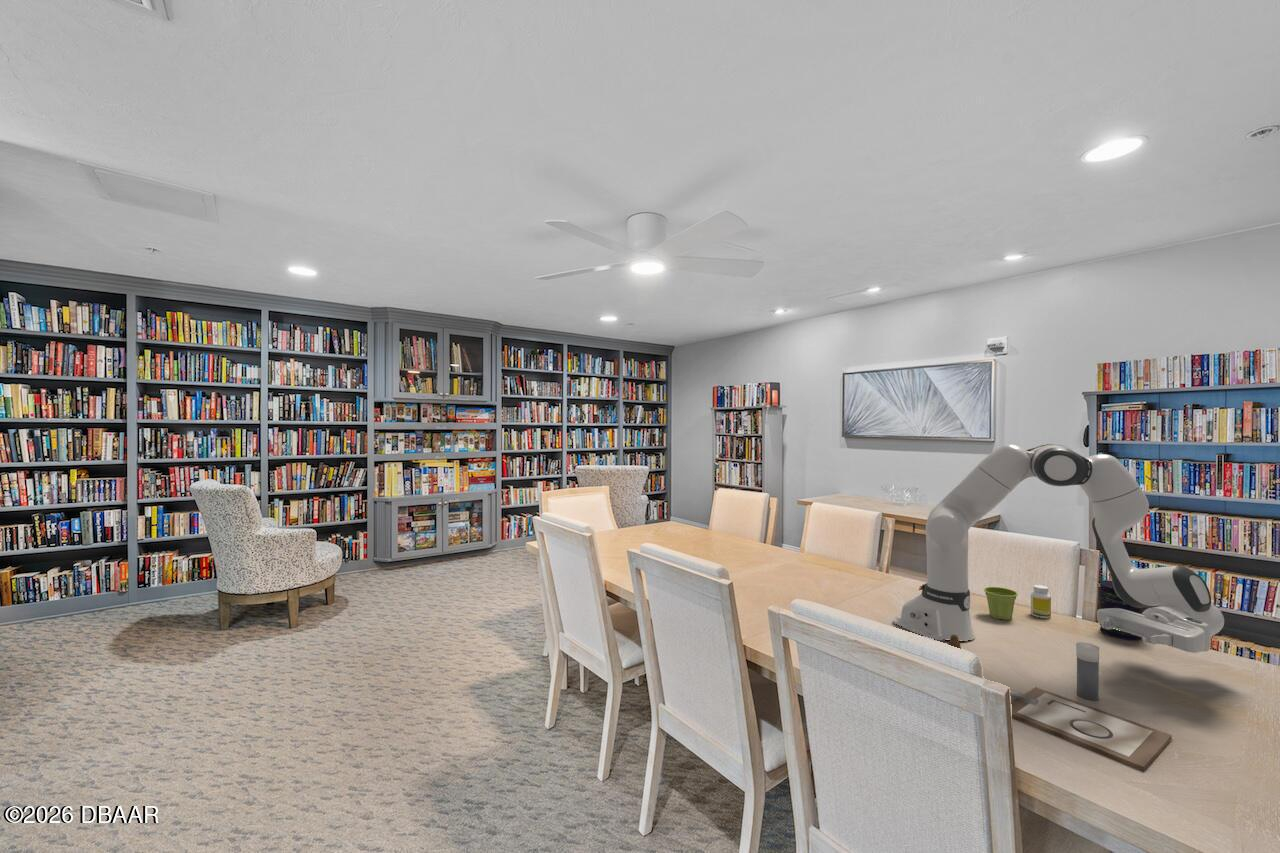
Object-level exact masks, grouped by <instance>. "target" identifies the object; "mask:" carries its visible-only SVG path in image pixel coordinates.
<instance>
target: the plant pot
mask: <svg viewBox="0 0 1280 853" xmlns="http://www.w3.org/2000/svg"><path fill="white" fill-rule="evenodd" d="M983 591H984V594H985V596H986V600H987V606H988V612H989V616H990V617H992V618H994V619H996V620H1003V621H1010V620H1012V619H1013V613H1014V608H1015V603H1016V599H1017V596H1019V592H1017V591H1015V590H1014V589H1011V588H1005V587H1002V586H1001V587H1000V586H988V587H987V586H986V587H984V588H983Z"/></svg>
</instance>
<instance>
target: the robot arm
mask: <svg viewBox="0 0 1280 853" xmlns="http://www.w3.org/2000/svg"><path fill="white" fill-rule="evenodd" d="M1029 478H1036V479H1038V480H1040V481H1041V482H1043V483H1045V484H1046V485H1049V486H1054V487H1068V486H1079V487H1080V488H1081V489H1082V491H1084V493H1085V495H1086V496H1087V498H1088V499H1089V501H1090V502H1091V504H1092V506H1093V510H1094V514H1095V515H1094V517H1093V519H1092V521H1091V526H1092V531H1093V534H1094V537H1095V540H1096V541H1097V544H1098V547H1099V549H1100V552H1101V555H1102V556H1103V559H1104V561H1105V564H1106V566H1107V569H1108V571H1109V575H1110V578H1111V581H1112V583H1113V587H1114V590H1115V592H1116V594H1117V595H1118V597H1119V598H1120V599H1122V600H1123V601H1124V602H1126V603H1127V604H1129V605H1130V606H1133V607H1136V608H1141V607H1142V608H1146V609H1145V610H1144V611H1143V612H1141V614H1139V613H1135V612H1132V611H1128V610H1125V609H1120V608H1106V609H1101V608H1099V609H1098V610H1097V611H1096V619H1097V620H1096V621H1097V622H1098V624H1099V625H1100V624H1101V627H1102V628H1105V629H1108V630H1110V629H1113V628H1115V629H1118V630H1121V631H1124V632H1127V633H1130V634H1133V635H1137V636H1140V637H1142V639H1143V638H1144V639H1145V640H1144V641H1145V642H1146V643H1149V644H1152V645H1158V644H1159V645H1165V646H1168V647H1172V648H1175V649H1178V650H1181V651H1184V652H1187V653H1193V654H1195V653H1196V654H1197V653H1202V652H1210V648H1211V647H1210V646H1211V637H1212V636H1215V635H1217V634H1218V633H1219V632H1220V631H1221V630H1222V629H1223V628H1224V626H1225V618H1224V615H1223V612H1222V611H1221V610H1220V609H1219V608H1218V607H1217V606H1216V605H1214V604H1213V603H1212V594H1211V592H1210V590H1209V587H1208V585H1207V584H1206V582H1205V580H1204V579H1203V578H1202V577H1201V576H1200V575H1199V574H1197V573H1196V572H1195V571H1194V570H1192V569H1191V568H1188V567H1186V566H1184V565H1171V566H1159V567H1148V568H1147V567H1146V568H1139V567H1136V566H1134V565H1133V563H1132V560H1131V558H1130V556H1129V553H1128V551H1127V548H1126V547H1125V543H1124V542H1123V534H1124V532H1126V531H1127V530H1128V529H1130V528H1132V527H1134V526H1136V525H1137V524H1138V523H1140V522H1141V521H1143V519H1145V517H1146V516H1147V514H1148V512H1149V510H1150V508H1149V507H1150V503H1149V501H1148V500H1149V499H1148V498H1147V496H1146V493H1145V492H1144V491H1143V489H1142V488H1141V486H1140V485H1139V483H1138V482H1137V480H1136V479H1135V477H1134V476H1133V475H1132V474H1131V473H1130V471H1129V470H1128V469H1127V467H1125V466H1124V464H1122V462H1120V461H1119V459H1118V458H1117V457H1115V456H1113V455H1111V454H1105V453H1103V454H1101V453H1099V454H1093V455H1089V456H1086V457H1084V456H1083V455H1081V454H1079V453H1077V452H1075V451H1074V450H1072V449H1070V448H1069V447H1066V446H1065V445H1061V444H1055V443H1052V444H1051V443H1049V444H1048V443H1047V444H1042V445H1038V446H1035V447H1032V448H1029V449H1025V448H1023V447H1021V446H1018V445H1016V444H1009V443H1006V444H1003V445H1002V444H1001V446H998V448H996V449H994V450H993V451H992V452H991V453H989V454H988V455H986V456H985V458H984V459H982V460H981V461H979V463H978V464H977V465H976V466H975V467H974V468H973V469H972V470H971V471H970V472H969V473H968V474H967V475H966V476H965V477H964V479H962V480H961V482H959V483H958V484H957V486H956V487H954V488H953V489H952V490H951V491H950V492H949V493H947V495H945V497H944V498H943V499H942V500H940V501H939V502H938V504H937V505H936V506H934V508H932V509H931V511H930V512H929V515H928V517H927V519H926V522H925V545H926V546H925V548H926V583H924V584H922V585H920V586H919V587H918V591H921V594H918V596H915V597H914V598H911V599H910V600H908V601H906V602H905V603H904V604H903V605H902V608H901V612H900V614H899V615H897V616H895V617H894V618H893V621H892V622H893V624H894V625H896V624H897V625H896V626H898V625H899V626H898V627H901V626H902V627H901V628H903V629H905V630H906V631H910V632H912V633H914V634H917V635H919V634H920V635H919V636H921V635H923V636H922V637H924V636H927V637H929V638H933V639H935V640H934V641H945V640H946V639H950V638H951V635H957V636H958V640H959V641H960V640H962V641H965V642H969V641H968V640H971V641H973V640H974V639H975V638H976V636H975V633H974V630H973V624H972V621H971V617H970V616H971V614H970V608H971V592H970V591H971V590H970V589H969V530H970V529H971V528H972V527H973V526H974V525H975V524H976V523H977V522H979V521H980V520H981V519H982V518H983V517H985V516H986V515H987V514H988V513H989V512H991V511H992V510H994V509H995V508H996V506H998V505H999V504H1000V503H1001V502H1002V501H1003V500H1004V499H1006V497H1007V496H1008V495H1009V494H1010V493H1011V492H1012V491H1013V490H1015V488H1017V486H1018V485H1019V484H1020V483H1022V482H1023V481H1025V480H1026V479H1029ZM1142 608H1141V609H1142ZM913 630H914V631H913ZM943 639H945V640H943Z"/></svg>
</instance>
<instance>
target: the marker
mask: <svg viewBox="0 0 1280 853" xmlns="http://www.w3.org/2000/svg"><path fill="white" fill-rule="evenodd" d="M1075 648H1076V650H1075V656H1076V695H1077V696H1078V697H1080V698H1082V699H1084V700H1089V701H1098V700H1100V699H1099V698H1100V696H1099V694H1100V693H1099V688H1100V685H1099V684H1100V682H1099V681H1100V680H1099V679H1100V678H1099V677H1100V676H1099V675H1100V674H1099V672H1100V663H1099V662H1100V647H1099V646H1097V645H1095V644H1093V643H1090V642H1089V643H1088V642H1085V641H1084V642H1082V641H1081V642H1080V641H1078V642H1076V644H1075Z"/></svg>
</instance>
